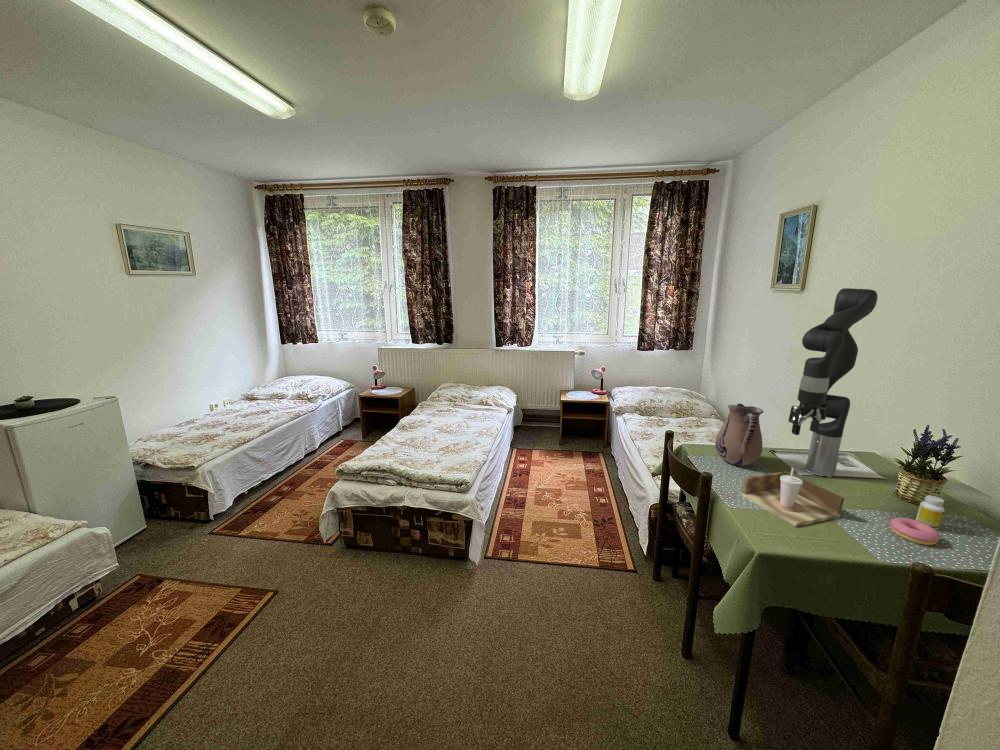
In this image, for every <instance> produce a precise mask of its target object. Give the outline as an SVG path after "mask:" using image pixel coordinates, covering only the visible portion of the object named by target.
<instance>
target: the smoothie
mask: <svg viewBox="0 0 1000 750" xmlns="http://www.w3.org/2000/svg"><path fill="white" fill-rule="evenodd" d="M794 470H795V467H791V471H790V473H791V476H789V475H782V476H781V477H780V481H781V491H780V504H781V505H783V506H785V507H788V508H792V507H793V506H794V503H795V501H796V498H797V495H798V493H799V490H800V488H801V486H802V485H803V481H802V480H801V479H799V478H797V477H794V476H793V475H794Z"/></svg>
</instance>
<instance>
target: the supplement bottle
mask: <svg viewBox="0 0 1000 750" xmlns="http://www.w3.org/2000/svg"><path fill="white" fill-rule="evenodd" d="M944 503H945V500H944V499H943V498H941V497H938V496H935V495H925V497H924V500H922V501H920V504H919V507H918V510H917V513H916V517H915V520H916V521H919V522H922V523H925V524H927V525H929V526H930V527H932V528H933V529H935V530H936V531H937V530H938V531H939V529H940V527H941V524H942V521H943V517H944V514H945V507H944V506H943V505H944Z"/></svg>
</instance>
